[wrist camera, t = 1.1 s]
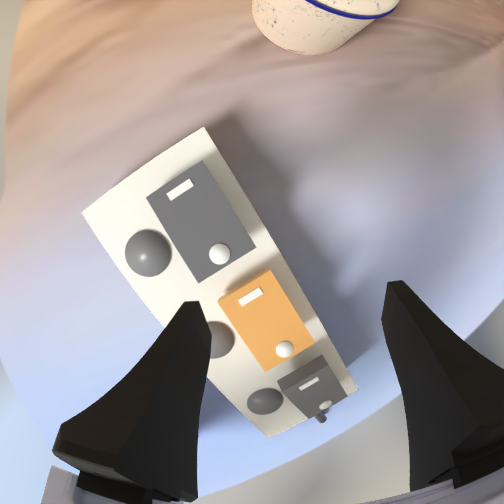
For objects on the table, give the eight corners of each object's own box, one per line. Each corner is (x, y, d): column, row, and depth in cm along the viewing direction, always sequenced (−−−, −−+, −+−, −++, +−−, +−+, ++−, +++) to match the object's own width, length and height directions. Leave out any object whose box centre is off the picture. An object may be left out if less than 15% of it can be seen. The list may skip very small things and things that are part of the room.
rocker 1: (255, 245, 19) (256, 247, 18) (201, 279, 19) (198, 283, 18) (204, 164, 18) (202, 159, 17) (151, 199, 18) (145, 197, 17)
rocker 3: (342, 386, 25) (348, 396, 24) (303, 409, 25) (308, 419, 24) (322, 354, 22) (329, 365, 21) (276, 380, 22) (281, 392, 21)
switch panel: (358, 394, 31) (373, 416, 27) (283, 436, 31) (291, 461, 27) (204, 133, 22) (203, 125, 18) (98, 206, 22) (78, 213, 18)
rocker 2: (311, 336, 21) (315, 343, 20) (264, 364, 21) (265, 372, 20) (268, 267, 21) (270, 270, 19) (218, 298, 21) (217, 302, 20)
